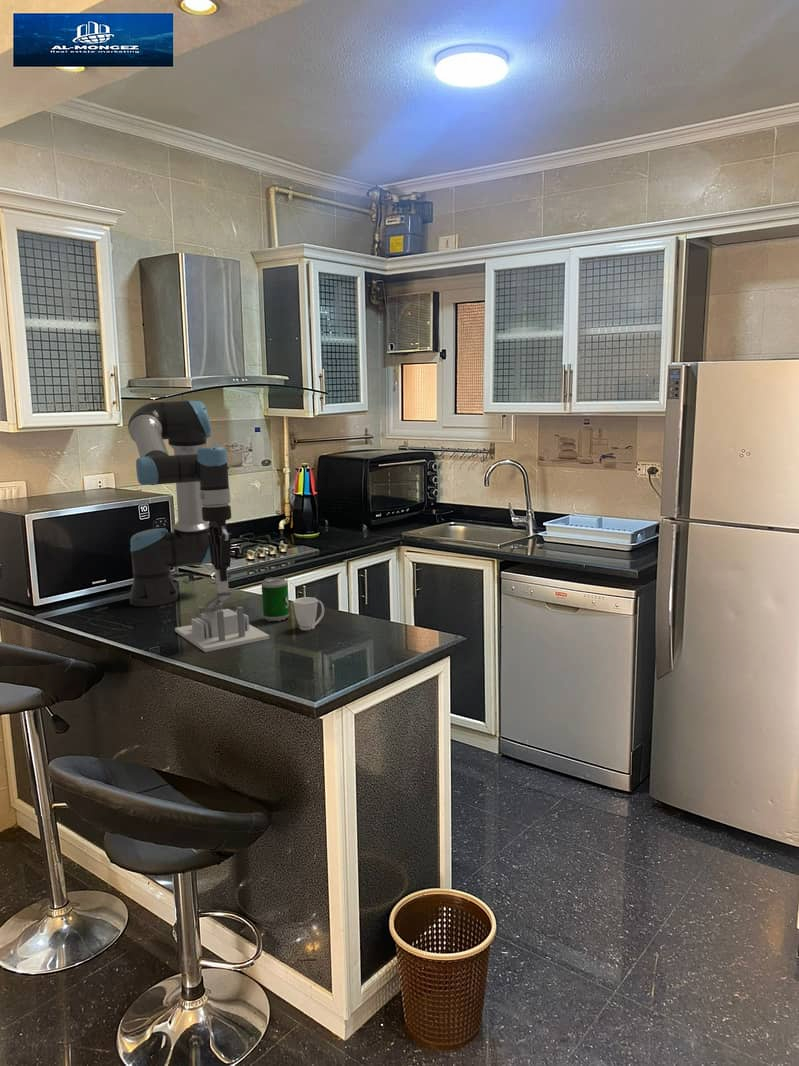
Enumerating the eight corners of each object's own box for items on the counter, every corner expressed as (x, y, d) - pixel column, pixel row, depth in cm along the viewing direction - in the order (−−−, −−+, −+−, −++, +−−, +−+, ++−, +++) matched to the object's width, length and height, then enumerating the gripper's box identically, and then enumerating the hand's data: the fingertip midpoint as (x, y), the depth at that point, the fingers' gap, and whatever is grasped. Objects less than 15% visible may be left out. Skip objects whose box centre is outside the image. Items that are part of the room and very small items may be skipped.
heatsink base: (175, 631, 222) (172, 600, 220) (235, 620, 232) (233, 590, 230) (205, 652, 202) (202, 618, 201) (269, 638, 212) (267, 606, 210)
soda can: (284, 622, 227) (282, 582, 225) (259, 622, 228) (257, 582, 226) (293, 615, 234) (290, 576, 232) (269, 615, 236) (266, 576, 234)
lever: (205, 608, 221) (203, 603, 221) (215, 607, 223) (214, 601, 223) (220, 597, 209) (219, 591, 210) (231, 595, 211) (229, 590, 211)
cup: (289, 628, 221) (287, 600, 219) (316, 620, 228) (314, 593, 227) (305, 633, 216) (303, 604, 215) (332, 625, 223) (331, 597, 222)
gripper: (194, 505, 212) (201, 590, 215) (211, 508, 201) (218, 598, 204) (220, 502, 216) (227, 586, 219) (238, 505, 205) (245, 594, 208)
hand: (223, 592), depth 212 cm, fingers closed
